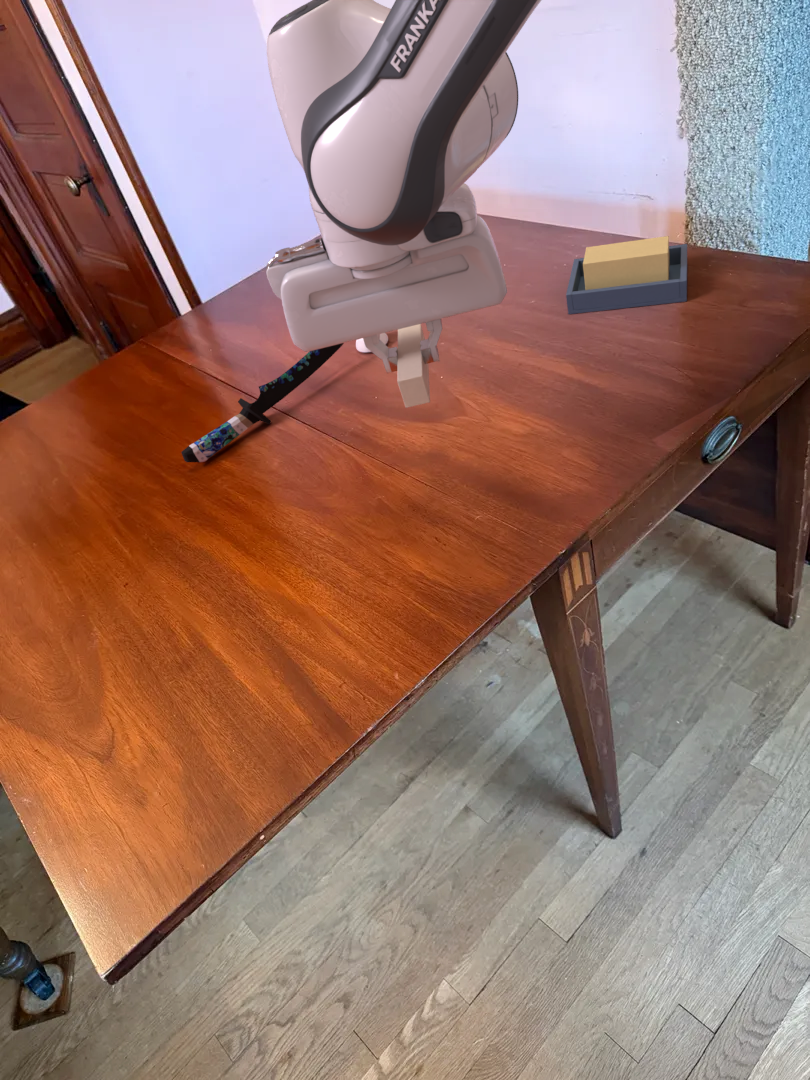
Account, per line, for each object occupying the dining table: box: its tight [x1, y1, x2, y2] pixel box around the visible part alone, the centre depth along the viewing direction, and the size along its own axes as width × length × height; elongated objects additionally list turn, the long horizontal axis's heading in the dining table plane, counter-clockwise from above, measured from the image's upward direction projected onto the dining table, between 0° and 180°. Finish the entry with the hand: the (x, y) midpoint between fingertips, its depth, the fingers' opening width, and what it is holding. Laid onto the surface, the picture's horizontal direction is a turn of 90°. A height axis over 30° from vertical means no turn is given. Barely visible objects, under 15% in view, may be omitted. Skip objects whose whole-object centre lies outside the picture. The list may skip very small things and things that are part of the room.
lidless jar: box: [355, 332, 389, 353], centre depth 113 cm, size 5×3×5 cm
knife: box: [180, 343, 345, 463], centre depth 105 cm, size 31×3×4 cm, turn 126°
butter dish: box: [565, 243, 688, 315], centre depth 105 cm, size 16×11×3 cm
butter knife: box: [396, 324, 431, 409], centre depth 77 cm, size 23×2×3 cm, turn 0°
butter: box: [583, 235, 670, 290], centre depth 103 cm, size 11×5×4 cm, turn 74°
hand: (413, 364), depth 72 cm, fingers closed on butter knife, 2 cm apart
